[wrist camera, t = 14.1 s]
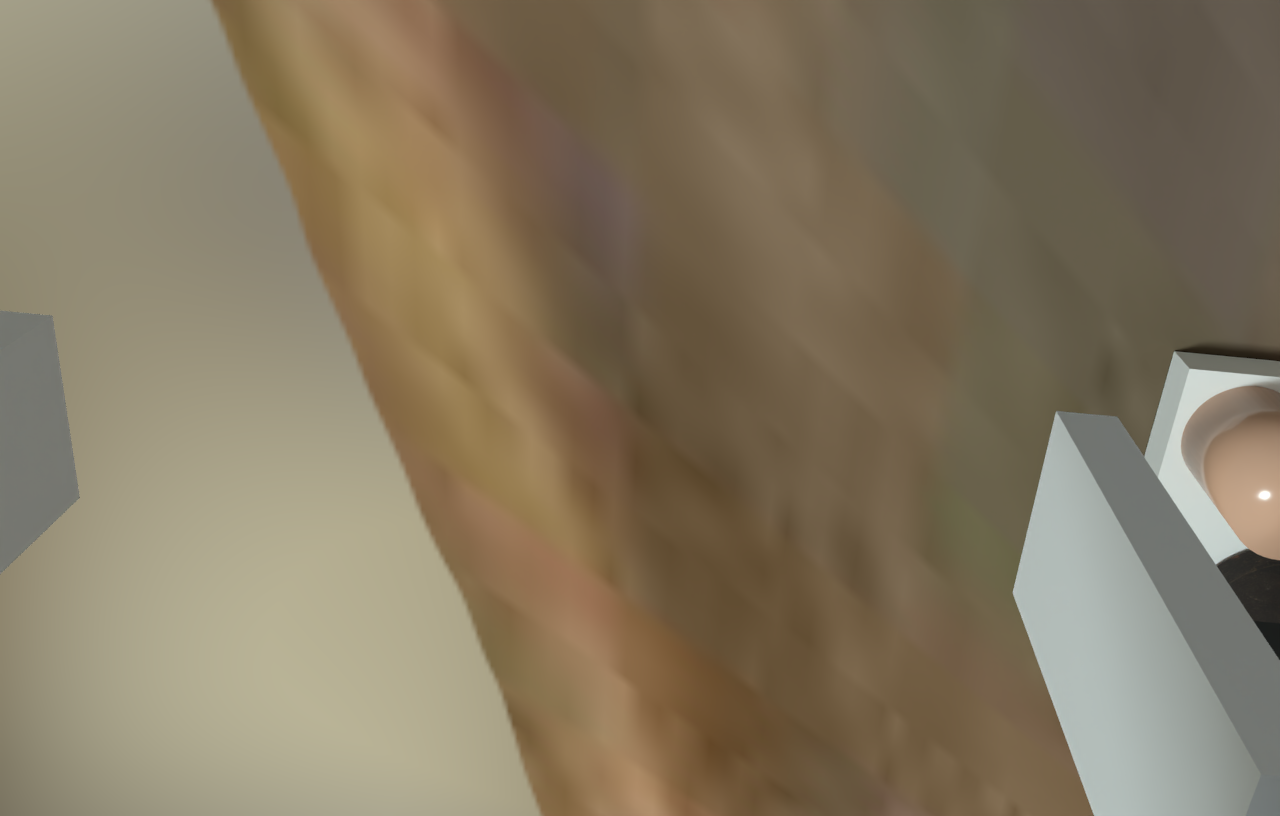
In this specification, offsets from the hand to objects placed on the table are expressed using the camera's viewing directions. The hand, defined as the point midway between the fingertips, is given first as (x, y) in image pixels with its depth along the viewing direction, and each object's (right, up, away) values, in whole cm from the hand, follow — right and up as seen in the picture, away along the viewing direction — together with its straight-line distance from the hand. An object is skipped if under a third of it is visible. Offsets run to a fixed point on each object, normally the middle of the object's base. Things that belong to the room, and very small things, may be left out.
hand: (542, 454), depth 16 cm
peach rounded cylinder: (+28, -1, +36) cm, 46 cm away
